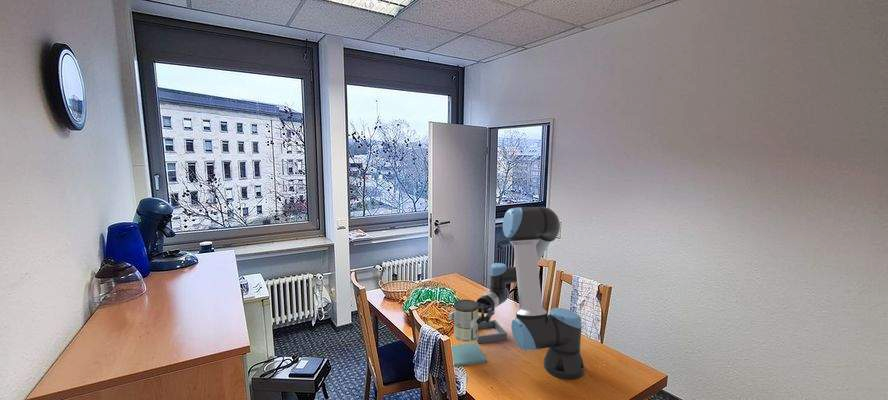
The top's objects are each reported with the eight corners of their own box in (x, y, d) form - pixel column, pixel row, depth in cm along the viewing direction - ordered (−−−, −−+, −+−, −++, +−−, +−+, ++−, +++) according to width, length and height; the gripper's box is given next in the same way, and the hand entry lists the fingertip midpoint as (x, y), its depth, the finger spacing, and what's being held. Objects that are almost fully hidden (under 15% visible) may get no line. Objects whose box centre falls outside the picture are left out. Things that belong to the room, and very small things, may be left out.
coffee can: (454, 329, 155) (454, 298, 153) (478, 330, 154) (478, 299, 152) (452, 341, 145) (452, 308, 143) (478, 343, 144) (478, 310, 142)
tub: (506, 339, 163) (506, 333, 163) (477, 343, 160) (477, 336, 160) (495, 325, 177) (495, 319, 176) (468, 328, 173) (468, 322, 173)
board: (487, 361, 145) (487, 359, 145) (454, 366, 142) (454, 364, 142) (476, 344, 159) (476, 342, 159) (445, 348, 155) (445, 346, 155)
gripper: (509, 317, 157) (484, 337, 139) (466, 304, 170) (438, 321, 152) (510, 301, 156) (484, 319, 138) (466, 289, 169) (438, 304, 151)
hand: (460, 320), depth 145 cm, fingers closed on coffee can, 10 cm apart
